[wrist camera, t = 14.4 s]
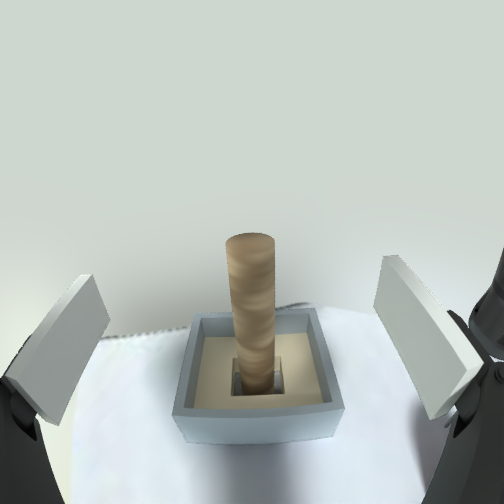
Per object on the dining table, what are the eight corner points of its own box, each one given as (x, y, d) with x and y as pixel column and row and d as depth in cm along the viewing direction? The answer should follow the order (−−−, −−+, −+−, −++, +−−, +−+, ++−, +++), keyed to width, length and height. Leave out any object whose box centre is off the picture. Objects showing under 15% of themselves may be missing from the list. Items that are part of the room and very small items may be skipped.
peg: (272, 376, 33) (272, 231, 24) (275, 401, 30) (276, 251, 21) (242, 378, 33) (227, 233, 24) (241, 402, 30) (223, 253, 21)
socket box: (310, 342, 38) (314, 307, 36) (332, 436, 24) (344, 408, 21) (202, 346, 39) (194, 313, 36) (187, 442, 24) (171, 415, 21)
